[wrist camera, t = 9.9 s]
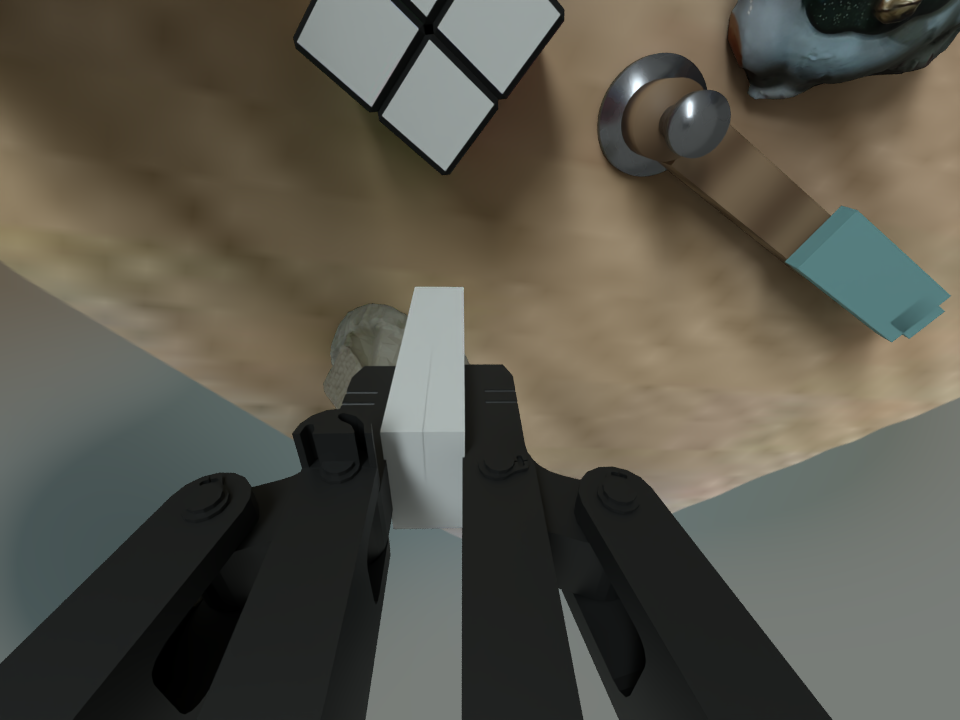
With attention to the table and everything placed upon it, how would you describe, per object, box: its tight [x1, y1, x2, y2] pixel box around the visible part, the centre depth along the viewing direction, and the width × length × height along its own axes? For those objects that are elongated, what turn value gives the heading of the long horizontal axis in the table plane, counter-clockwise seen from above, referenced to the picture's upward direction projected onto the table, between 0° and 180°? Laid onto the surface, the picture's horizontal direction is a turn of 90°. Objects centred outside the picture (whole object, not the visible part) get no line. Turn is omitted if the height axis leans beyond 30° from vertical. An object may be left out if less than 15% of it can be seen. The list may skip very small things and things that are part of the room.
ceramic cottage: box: [323, 303, 469, 409], centre depth 39 cm, size 16×16×15 cm
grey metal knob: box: [597, 53, 731, 176], centre depth 29 cm, size 8×8×8 cm
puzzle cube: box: [293, 0, 564, 175], centre depth 25 cm, size 10×10×10 cm
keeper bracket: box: [785, 206, 950, 342], centre depth 36 cm, size 14×5×6 cm, turn 59°
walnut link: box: [621, 77, 831, 278], centre depth 33 cm, size 24×5×3 cm, turn 58°
